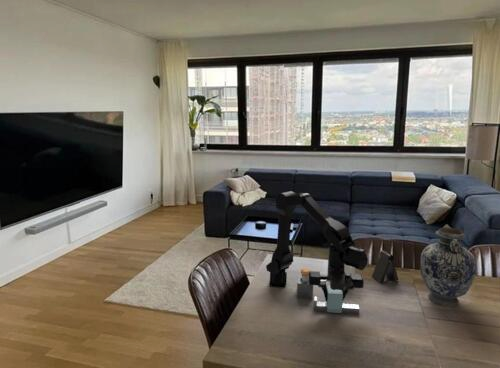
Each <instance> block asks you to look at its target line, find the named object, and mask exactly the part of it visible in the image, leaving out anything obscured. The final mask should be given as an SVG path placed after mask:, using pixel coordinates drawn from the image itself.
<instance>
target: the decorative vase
mask: <svg viewBox="0 0 500 368" xmlns="http://www.w3.org/2000/svg"><path fill="white" fill-rule="evenodd" d="M435 235H437V237H439V238H438V242H434V243H431V244H428V245H427V246H426V247H424V249H423V250H422V252H421V254H420V259H419V260H420V261H419V269H420V275H421V278H422V280H423V282H424V285H425V287H426V288H427V289H428V290H429V292H428V293H427V298H428V299H429V300H430V301H431V302H433V303H434V304H437V305H439V306H443V307H447V308H449V307H450V308H453V307H456V306H459V304H460V301H459V299H458V298H461V297H462V296H465V295H466V294H467V293H468V291H469V290H470V288H471V286H472V284H473V283H474V281H475V278H476V274H477V269H478V268H477V266H478V265H477V259H476V258H475V256H474V254H473V253H472V252H471V251H469V250H468V249H467V248H465V247H463V246H462V242H461V241H462V240H465V239H466V235H465V233H463V231H462V230H461V229H458V228H455V227H451V226H449V224H445V225H444V226H443V227H440V228H439V229H438V230H436V231H435Z"/></svg>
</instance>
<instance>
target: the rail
mask: <svg viewBox="0 0 500 368" xmlns="http://www.w3.org/2000/svg"><path fill="white" fill-rule="evenodd" d="M312 304H313V307H312V308H313V312H314V311H315V312H325V313H328V312H327V302H326V301H318V297H317V296H313V303H312ZM341 314H353V315H354V314H355V315H359V314H360V306H359V304H355V303H343V302H342V313H341Z"/></svg>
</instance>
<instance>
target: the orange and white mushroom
mask: <svg viewBox="0 0 500 368" xmlns="http://www.w3.org/2000/svg"><path fill="white" fill-rule="evenodd" d="M310 271H311V269H308V268H301V269H300V274H301V277H302V280H301V282H308V283H309V272H310Z"/></svg>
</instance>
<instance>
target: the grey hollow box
mask: <svg viewBox="0 0 500 368" xmlns="http://www.w3.org/2000/svg"><path fill="white" fill-rule="evenodd" d="M301 280H302V275H300V276H299V275H298V276H297V279H296V299H297V298H300V299H312V300H314V296H313V295H314V285H310V284H309V283H308V282H301Z"/></svg>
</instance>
